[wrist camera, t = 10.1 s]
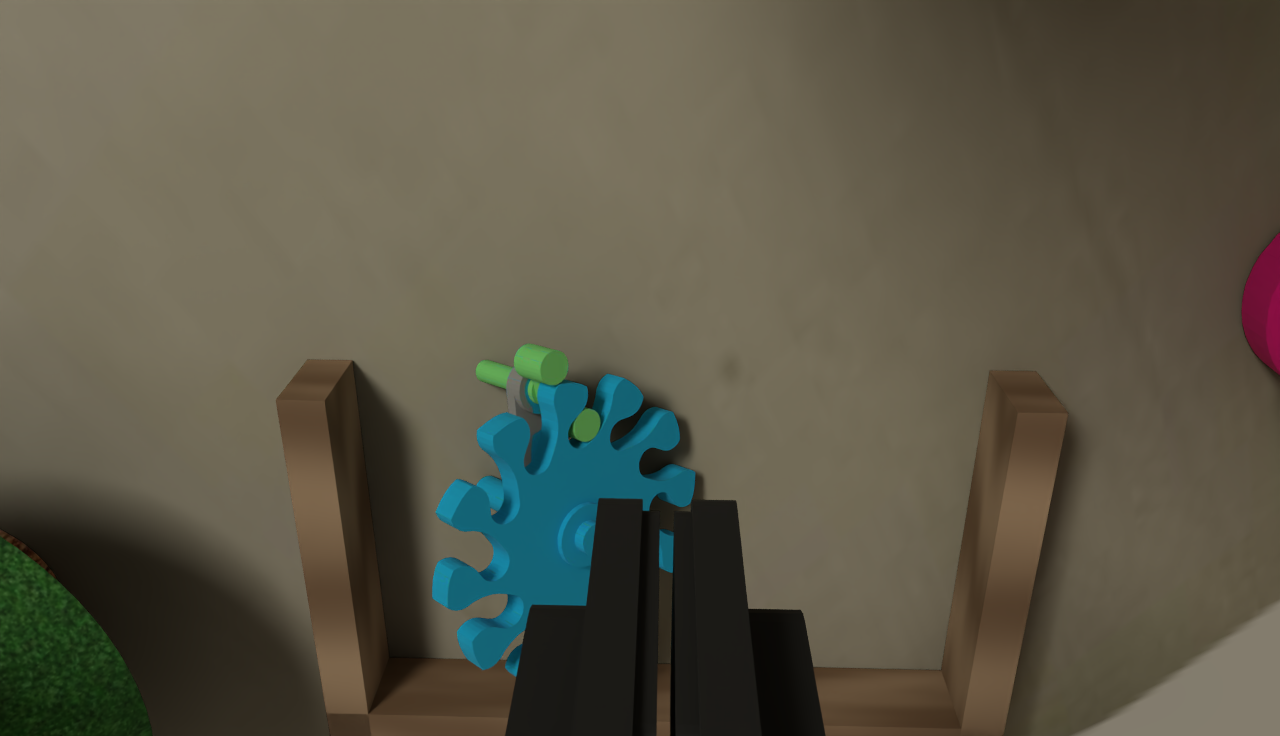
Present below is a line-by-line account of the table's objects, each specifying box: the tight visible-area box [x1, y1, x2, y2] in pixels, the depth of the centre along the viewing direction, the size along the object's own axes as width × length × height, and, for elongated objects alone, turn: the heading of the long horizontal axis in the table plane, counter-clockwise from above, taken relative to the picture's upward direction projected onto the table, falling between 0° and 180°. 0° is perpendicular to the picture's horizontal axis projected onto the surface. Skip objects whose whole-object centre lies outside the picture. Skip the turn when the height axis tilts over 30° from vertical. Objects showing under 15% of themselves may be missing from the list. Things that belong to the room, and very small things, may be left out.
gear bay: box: [276, 360, 1068, 736], centre depth 35 cm, size 14×24×3 cm, turn 90°
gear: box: [432, 344, 695, 677], centre depth 33 cm, size 11×6×10 cm
